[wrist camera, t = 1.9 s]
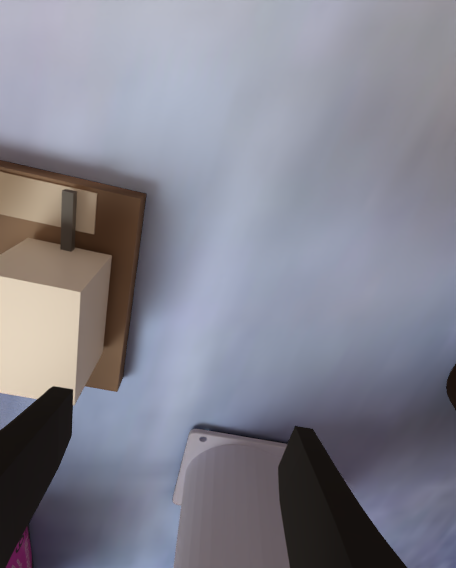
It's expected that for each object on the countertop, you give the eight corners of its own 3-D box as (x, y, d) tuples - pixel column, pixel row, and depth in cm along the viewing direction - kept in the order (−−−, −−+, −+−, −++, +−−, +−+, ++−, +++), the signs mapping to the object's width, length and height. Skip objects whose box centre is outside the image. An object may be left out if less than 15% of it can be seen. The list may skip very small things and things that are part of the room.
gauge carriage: (117, 199, 16) (84, 223, 12) (102, 352, 20) (74, 405, 16) (-20, 168, 15) (-96, 184, 12) (-8, 332, 19) (-63, 382, 16)
